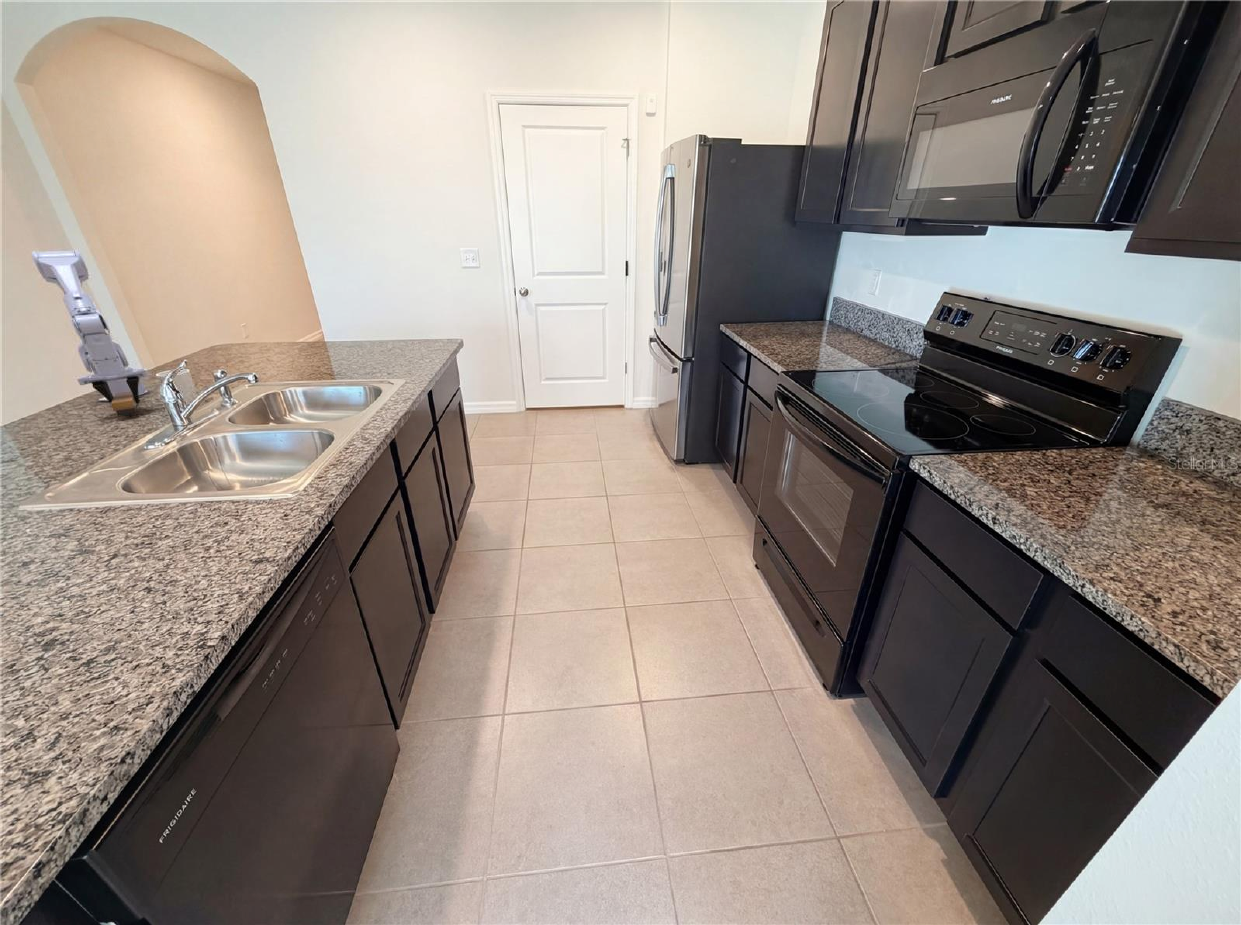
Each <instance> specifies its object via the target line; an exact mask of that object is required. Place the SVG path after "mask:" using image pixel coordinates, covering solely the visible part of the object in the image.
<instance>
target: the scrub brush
mask: <svg viewBox="0 0 1241 925" xmlns="http://www.w3.org/2000/svg"><path fill="white" fill-rule="evenodd" d="M110 405H111V408H112V410H113V411H114V412H115V413H116V415H117V416H122V415H128V414H135V413H137V411H138V408H139V406H140V403H136V401H135V399H134V397H133V394H132V392H124V393H117V394H115V396H114V398H113V400H112V402H111V403H110Z"/></svg>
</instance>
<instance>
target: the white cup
mask: <svg viewBox="0 0 1241 925" xmlns="http://www.w3.org/2000/svg"><path fill="white" fill-rule="evenodd" d="M182 369H183V370H180V372H178V373H177V375H176V376H175V377H174V378H173V382H174V384H175V385H176V387H177V389H178V390H179V391H180V393H181V395H182V396H183V398H184V401H185V402H186V403H189V402H190V401H192V400H193V399H194V398H196V397H198V394H197V390H196V386H195V383H194V380H193V377H192V374H191V370H190V369H188V368H182ZM171 370H172V369H169V370H165V371H160V372H158V373H156V374H155V375H156V378H157V380H158V382H159V383H160V386H161V385H162V383H163V380H164V379H165V377H166V375H167V374H169V373H170V371H171Z"/></svg>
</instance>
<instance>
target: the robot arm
mask: <svg viewBox="0 0 1241 925" xmlns="http://www.w3.org/2000/svg"><path fill="white" fill-rule="evenodd" d="M30 255H31V258H32V260H33V263H34V264H35V266H36V268H37V270H38V272H39V274H40V275H41V277H42V279H43V280H45V282H46V283H50V284H51V283H52V284H55V285H56V286H58V288H59V289H61V290H62V292H63V297H62V300H63V303H64V305H65V308H66V310H67V311H68V313H69V316H70V318H69V319H70V322H71V324H72V326H73V328H74V331H75V333H76V334H77V336H78V337H79V339H80V340H81V343H80V344H79V345H78V346H77V351H78V353H79V357H80V359H81V362H82V364H83V365H84V368H85V369H86V371H87V372H89V373H93V374H89V375H83V376H78V377H77V378H76V379H77V382H78V384H79V386H85V385H89V384H91V385H92V388H93V389H94V390H95V391H97V392H98V393H99V394H100V395H102V396H103V397H101V398H99V399H98V402H109V403H110V404H111V402H112V400H113V398H114V396H115V394H117V393H124V392H132V394H133V397H134V399H135V401H136V403H139V404H140V403H141V400H140V396H142V395H145V394H147V393H149V391H148V390H146V389H145V386H144V384H143V382H142V380H141V377H143V378H146V377H149V376H150V374H149V372H148V370H147V368H139V369H138V368H137V369H136V368H135V369H134V368H132V367H130V366H129V365H130V364H129V361H128V359H127V357H126V354H125V352H124V350H123V348H122V347H121V345H120V343H118V342H117V341H115V340H112V337H111V331H110V330H111V329H110V327H109V325H108V323H107V321H106V319H105V317H104V315H103V314H102V313H101V312H100V310H99V309H98V307H97V305H96V303H95V301H94V299H93V297H92V296H91V295H90V294H89V293H87V292H84V290H83V282H85V281H88V280H89V279H90V278H89V272H88V267H87V265H86V263H85V261H84V257H83V256H82V254H81V252H80V251H78V250H77V249H73V250H51V251H49V250H48V251H35V250H34V251H32V252H31V253H30ZM107 332H108V333H107Z"/></svg>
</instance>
